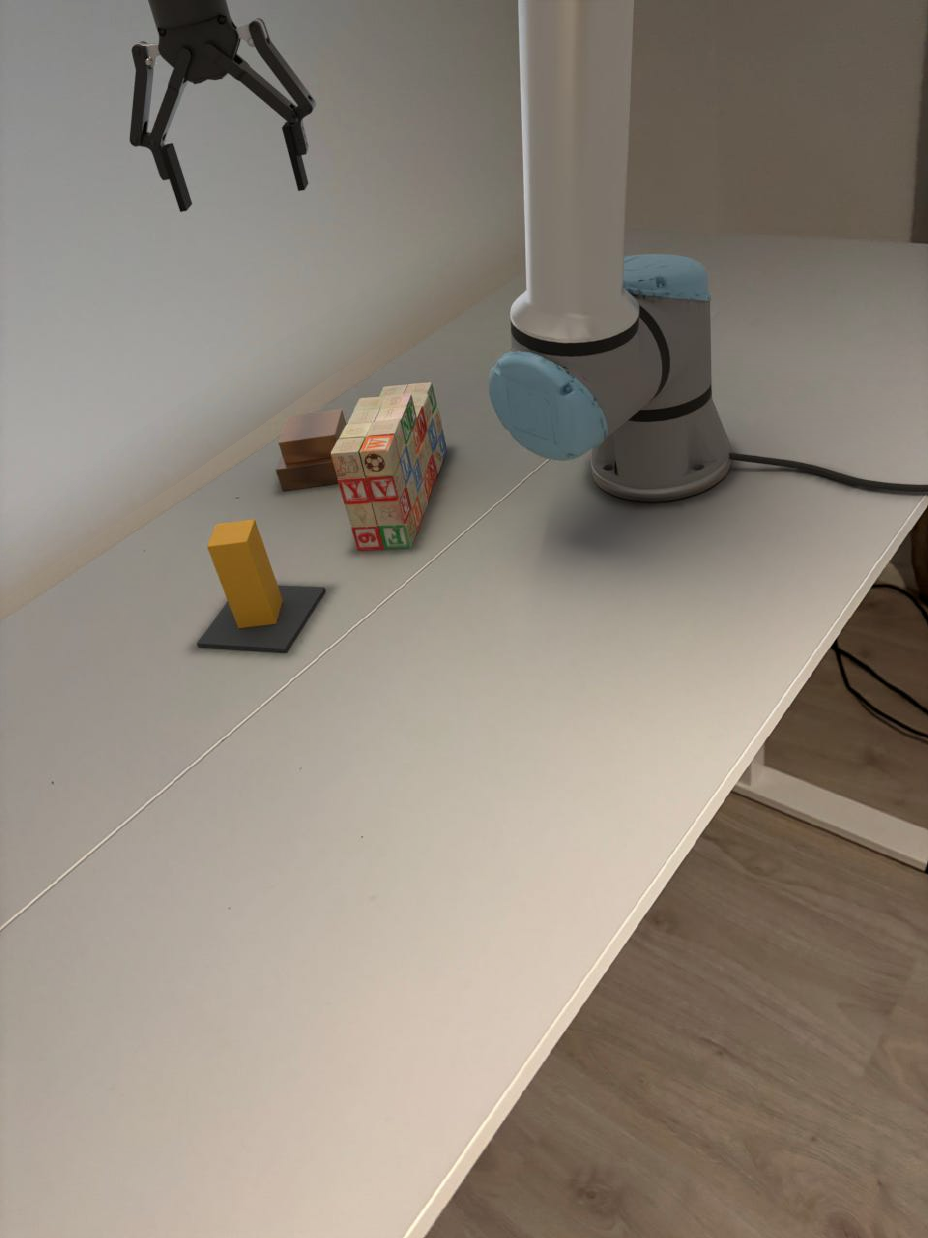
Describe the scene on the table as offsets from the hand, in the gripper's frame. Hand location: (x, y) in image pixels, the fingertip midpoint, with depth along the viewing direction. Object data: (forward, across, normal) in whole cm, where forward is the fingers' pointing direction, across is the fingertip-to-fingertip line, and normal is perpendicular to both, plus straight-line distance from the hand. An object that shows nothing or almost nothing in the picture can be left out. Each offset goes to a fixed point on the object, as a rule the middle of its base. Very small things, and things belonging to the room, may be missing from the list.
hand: (244, 197), depth 114 cm
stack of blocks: (+32, -13, +16) cm, 38 cm away
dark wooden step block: (+32, -2, +6) cm, 32 cm away
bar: (+31, 0, +36) cm, 48 cm away
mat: (+32, 0, +36) cm, 48 cm away
